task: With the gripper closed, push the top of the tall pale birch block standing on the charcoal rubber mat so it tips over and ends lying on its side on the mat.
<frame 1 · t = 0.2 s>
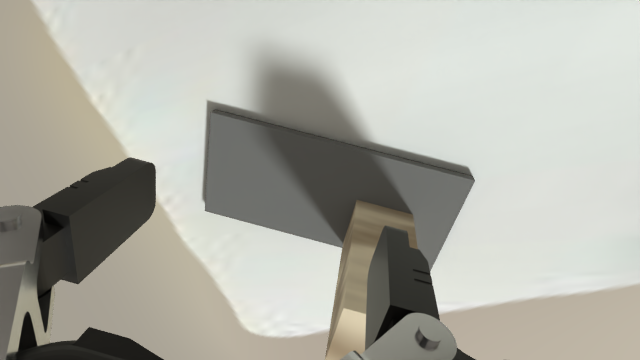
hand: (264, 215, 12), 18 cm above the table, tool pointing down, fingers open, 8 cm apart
rubber mat: (328, 192, 32), on the table
birch block: (376, 229, 32), point 1 cm above the table, touching rubber mat
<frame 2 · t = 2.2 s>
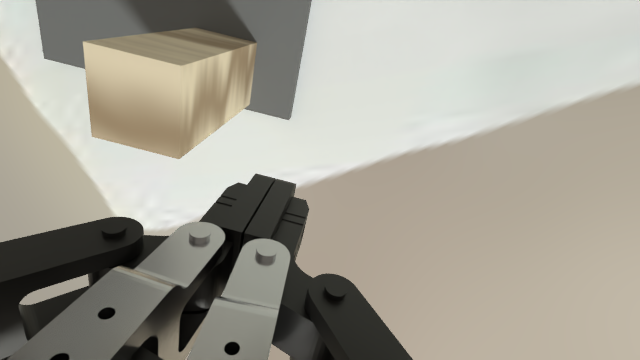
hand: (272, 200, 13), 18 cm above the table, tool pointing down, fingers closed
rubber mat: (170, 26, 29), on the table
birch block: (223, 67, 29), point 1 cm above the table, touching rubber mat
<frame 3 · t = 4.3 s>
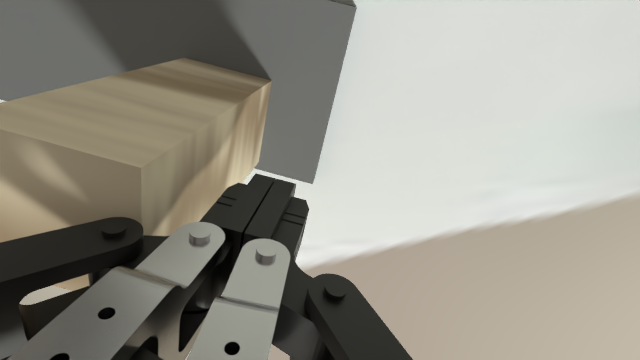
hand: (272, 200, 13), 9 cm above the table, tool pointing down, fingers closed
rubber mat: (149, 53, 21), on the table
birch block: (223, 112, 21), point 1 cm above the table, touching gripper, rubber mat
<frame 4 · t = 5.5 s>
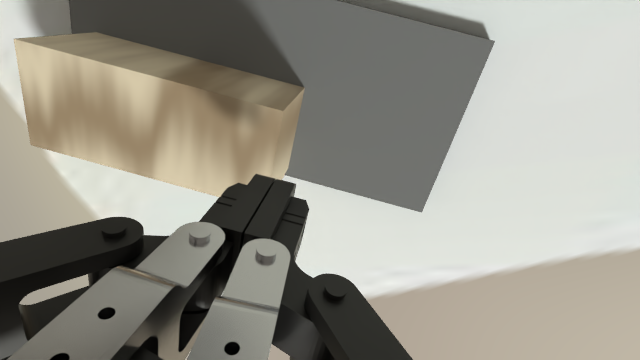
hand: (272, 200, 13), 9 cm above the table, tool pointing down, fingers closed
rubber mat: (264, 82, 20), on the table
birch block: (286, 144, 18), point 3 cm above the table, tilted 90°, touching rubber mat
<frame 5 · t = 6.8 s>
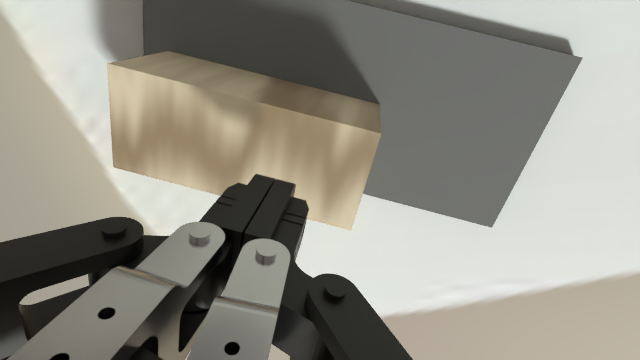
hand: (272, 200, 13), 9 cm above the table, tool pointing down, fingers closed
rubber mat: (335, 99, 20), on the table
birch block: (366, 163, 18), point 3 cm above the table, tilted 90°, touching rubber mat
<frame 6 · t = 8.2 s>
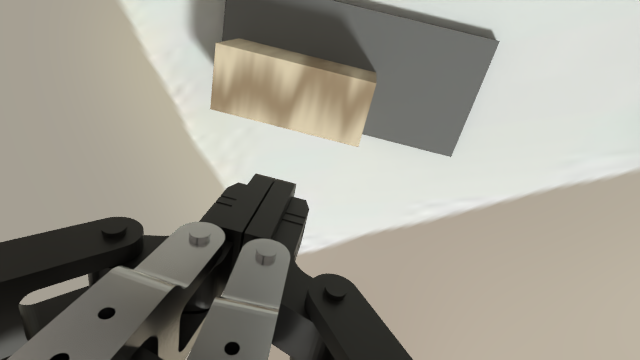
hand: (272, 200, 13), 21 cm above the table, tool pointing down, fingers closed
rubber mat: (347, 70, 31), on the table
birch block: (367, 108, 29), point 3 cm above the table, tilted 90°, touching rubber mat
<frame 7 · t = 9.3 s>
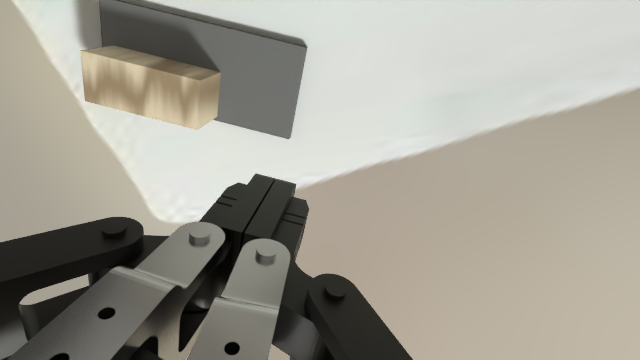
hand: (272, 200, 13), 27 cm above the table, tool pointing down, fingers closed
rubber mat: (201, 70, 39), on the table
birch block: (209, 100, 37), point 3 cm above the table, tilted 90°, touching rubber mat
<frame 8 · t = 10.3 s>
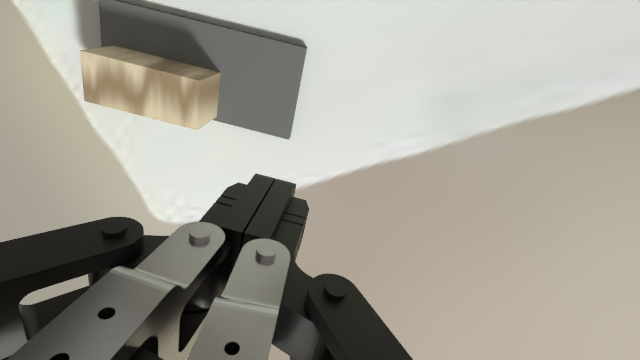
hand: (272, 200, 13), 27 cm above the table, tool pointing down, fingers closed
rubber mat: (201, 70, 39), on the table
birch block: (209, 100, 37), point 3 cm above the table, tilted 90°, touching rubber mat
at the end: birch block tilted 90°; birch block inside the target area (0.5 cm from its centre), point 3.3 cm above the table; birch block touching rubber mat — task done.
